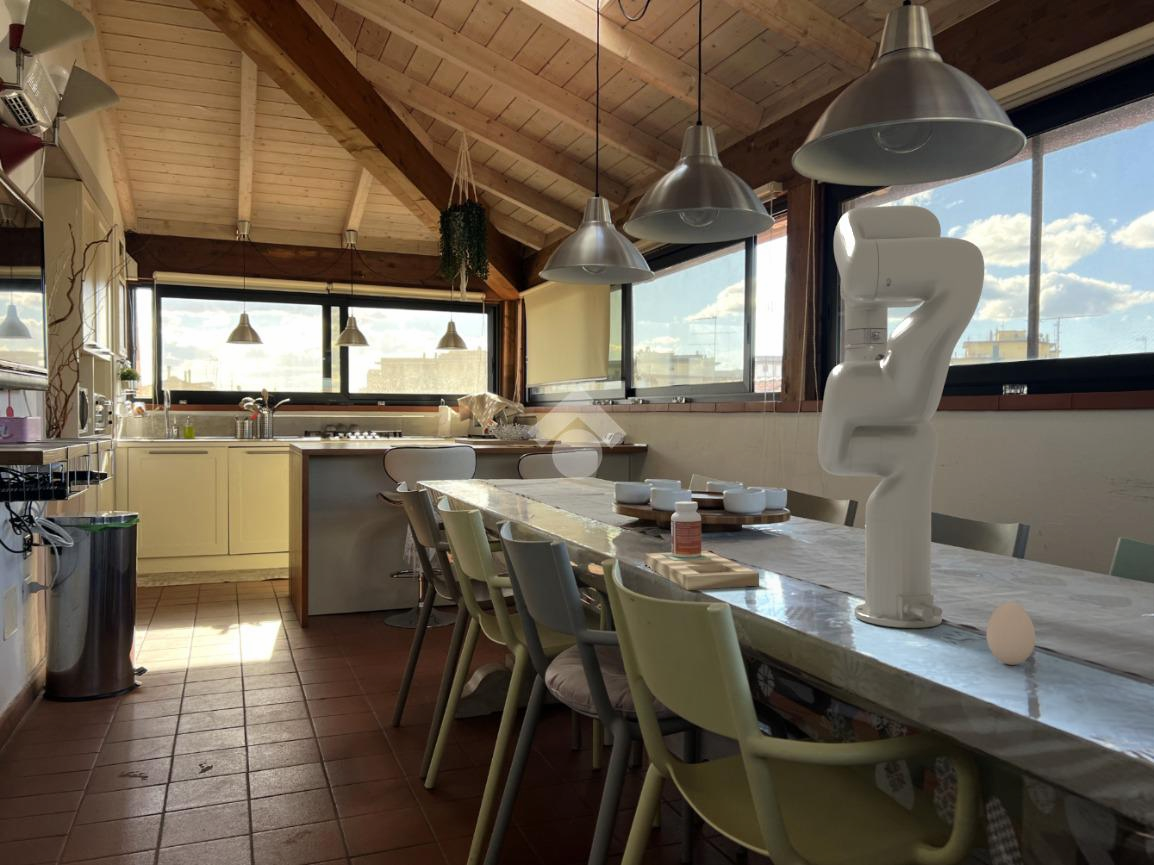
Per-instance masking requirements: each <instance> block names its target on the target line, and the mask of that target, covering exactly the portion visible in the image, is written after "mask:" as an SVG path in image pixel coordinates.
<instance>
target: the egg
mask: <svg viewBox="0 0 1154 865" xmlns="http://www.w3.org/2000/svg"><path fill="white" fill-rule="evenodd" d="M1035 632H1036V631H1035V626H1034V624H1033V621H1032V619H1031V616H1030V615H1029V614H1028V612H1027V610H1026V609H1025V608H1023V607H1022V606H1021V605H1019V603H1017V602H1014V601H1005V602H1003V603H1000V604H999V605H998V606H996V608H995V609H994V610H993V611H992V613H991V614H990V616H989V618H988V620H987V625H986V642H987V644H988V647H989V649H990V652H991V653H992V655H994V657H995V658H996V659H997V660H999V661H1000V662H1001V663H1003V664H1004V665H1005V664H1006V665H1009V666H1010V665H1011V666H1016V665H1019V664H1022V663H1024V662H1025V661H1026V660H1027V659H1028V658H1029V657H1030V656H1031V654H1032V653H1033V651H1034V649H1035V644H1036V633H1035Z"/></svg>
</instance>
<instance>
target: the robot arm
mask: <svg viewBox="0 0 1154 865" xmlns="http://www.w3.org/2000/svg"><path fill="white" fill-rule="evenodd" d="M836 224H837V225H836V226H835V230H834V235H833V254H834V259H835V263H836V266H837V269H838V273H839V278H840V286H839V289H840V290H839V291H840V297H841V299H842V300H844V350H845V353H844V358H843V359H844V360H843V362H841V363H838V364H837V365H836V366H834V367H833V368H832V369H831V371H830V372H829V374H828V377H827V378H826V379H827V380H826V383H825V388H824V392H823V393H824V394H823V401H822V402H823V403H822V408H821V409H822V410H821V416H820V422H819V430H818V431H819V432H818V439H817V456H818V462H819V464H820V466H821V468H822V469H823V470H824V472H826V473H828V474H830V475H834V476H840V477H841V476H843V477H879V478H882V479H881V481H880V482H879V484H878V485H876V487H875V488H874V490H873V491H872V492H871V493H870V495H869V496H868V499H867V500H866V503H865V512H864V514H865V518H864V520H865V521H864V522H865V523H864V538H865V539H864V542H865V543H864V546H865V547H864V550H865V552H864V553H865V554H864V555H865V556H864V558H865V559H864V563H865V564H864V565H865V566H864V578H865V579H864V580H865V583H864V586H865V587H864V592H865V593H864V594H865V595H864V597H865V599H864V600H865V601H864V603H862V604H859V605H857V606H855V608H854V616H855V617H856V618H857V619H858V620H860V621H863V622H865V623H869V624H872V625H879V626H884V627H890V628H899V629H901V628H904V629H923V628H931V627H936V626H938V625H940V624H942V622H943V618H942V617H943V609H942V608H941V607H939V606H936V605H934V599H935V598H934V596H935V595H934V594H932V498H933V497H932V495H933V481H934V475H935V468H936V462H937V456H938V450H939V449H938V448H939V434H938V432H937V428H936V427H935V425H934V424H933V423H932V422H931V421H930V420H931V419H932V417H933V416H935V414H936V411H937V409H938V408H939V405H940V401H941V399H942V394H943V390H944V389H945V388H944V386H945V384H946V380H947V376H948V371H949V367H950V364H951V360H952V357H953V352H954V350H955V348H956V346H957V343H958V342H959V340H960V338H961V336H962V335H963V334H964V332H965V330H966V329H967V328H968V326H969V324H970V323H971V320H972V319H973V317H974V315H975V312H976V310H977V307H978V306H979V302H980V299H981V296H982V292H983V286H984V282H985V281H984V278H985V260H984V255H983V254H982V251H981V249H980V248H979V246H977V245H976V244H974V243H973V242H971V241H968V240H967V239H966V240H965V239H963V238H958V237H946V236H943V237H942V236H941V234H942V232H941V231H942V228H941V224H940V221H939V218H938V217H937V216H936V215H935V214H934V213H933V212H932V211H931V210H929V209H927V208H926V207H923V206H917V205H887V206H886V205H885V206H869V207H868V206H867V207H865V206H864V207H863V206H862V207H860V206H859V207H855V208H851V209H849V210H847V211H846V212H844V214H843V215H841V217H840V219H839V221H838V222H837V223H836ZM919 305H920V306H919ZM917 306H919V307H917ZM914 307H917V309H915V310H913V311H912V312H911V313H909V314H908V315H907V316H906V317H904V319H903V320H902V321H901V322H900V323H899V324H897V325H896V326H895V328H894V329H893V331H892V332H891V333H890V335H889V336H888V330H889V329H888V312H889V311H888V308H897V309H898V308H914Z"/></svg>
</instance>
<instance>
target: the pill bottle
mask: <svg viewBox="0 0 1154 865" xmlns="http://www.w3.org/2000/svg"><path fill="white" fill-rule="evenodd" d="M698 508H699V506H698V502H697V501H688V500H687V501H686V500H685V501H676V502H674V510H675V512H674V513H673V514H672V515H671V516H670V517H671V518H670V526H671V527H670V530H671V533H670V535H671V536H670V540H671V544H670V546H671V553H672V555H673V556H674V557H680V558H695V557H699V556H701V551H702V516H701V515H700V513H699V512H697V510H698Z"/></svg>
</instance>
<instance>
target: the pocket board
mask: <svg viewBox="0 0 1154 865" xmlns="http://www.w3.org/2000/svg"><path fill="white" fill-rule="evenodd" d="M643 559H644V561H643V562H644V566H645V565H647V566H648V567H650V568H651V569H650V568H649V569H650V570H652V569H653V570H652V571H653V572H655V571H656V572H655V573H657V574H659V575H660V574H661V576H662V575H663V577H664V578H666V579H668V580H669V581H671V582H672V583H674V584H676V585H678V586H680V587H681V588H683V589H685V590H686V591H699V590H698V589H701V590H711V589H710V588H720V589H725V588H724V587H739V588H747V587H746V586H757V587H759V586H760V573H759V572H758V571H756V570H754V569H751V568H748V567H746V566H743V565H741V564H739V563H736V562H734V561H732V560H729V559H727V558H725V557H722V556H720V555H717V554H715V553H713V552H710V551H708V550H701V556H699V557H695V558H680V557H674V556H673V555H672V553H671V552H669V551H668V552H651V553H644V558H643ZM647 566H646V567H647ZM648 567H647V568H648ZM744 586H745V587H744Z"/></svg>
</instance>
